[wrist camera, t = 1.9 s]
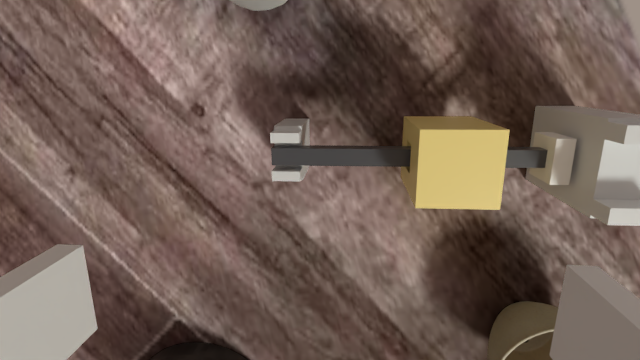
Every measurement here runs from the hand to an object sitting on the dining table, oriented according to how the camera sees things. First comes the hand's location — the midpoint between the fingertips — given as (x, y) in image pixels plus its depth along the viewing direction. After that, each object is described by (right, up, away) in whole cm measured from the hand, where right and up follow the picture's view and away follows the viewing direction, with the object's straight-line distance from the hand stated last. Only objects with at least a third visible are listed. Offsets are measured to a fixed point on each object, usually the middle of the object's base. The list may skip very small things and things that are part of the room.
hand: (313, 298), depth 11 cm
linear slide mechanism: (+9, +6, +21) cm, 24 cm away
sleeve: (+9, +6, +19) cm, 22 cm away
